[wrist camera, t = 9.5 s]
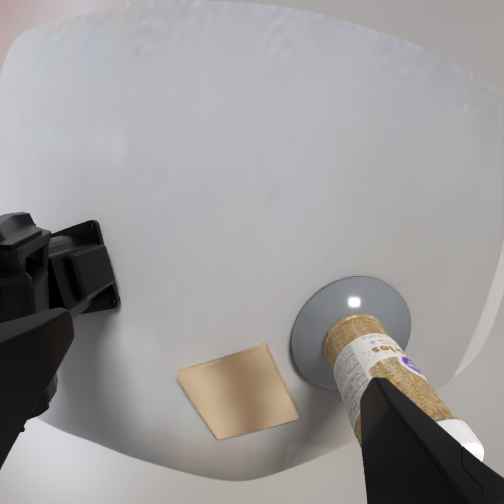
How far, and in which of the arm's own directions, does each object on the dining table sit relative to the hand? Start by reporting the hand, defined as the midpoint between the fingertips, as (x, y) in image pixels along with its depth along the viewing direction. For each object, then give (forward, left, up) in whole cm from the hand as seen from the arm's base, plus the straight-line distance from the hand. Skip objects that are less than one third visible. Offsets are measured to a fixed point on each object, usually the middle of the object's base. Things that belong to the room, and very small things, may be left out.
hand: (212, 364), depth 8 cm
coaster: (+7, -7, -12) cm, 15 cm away
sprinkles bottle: (+6, -7, -12) cm, 15 cm away
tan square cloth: (-2, -10, -12) cm, 16 cm away
